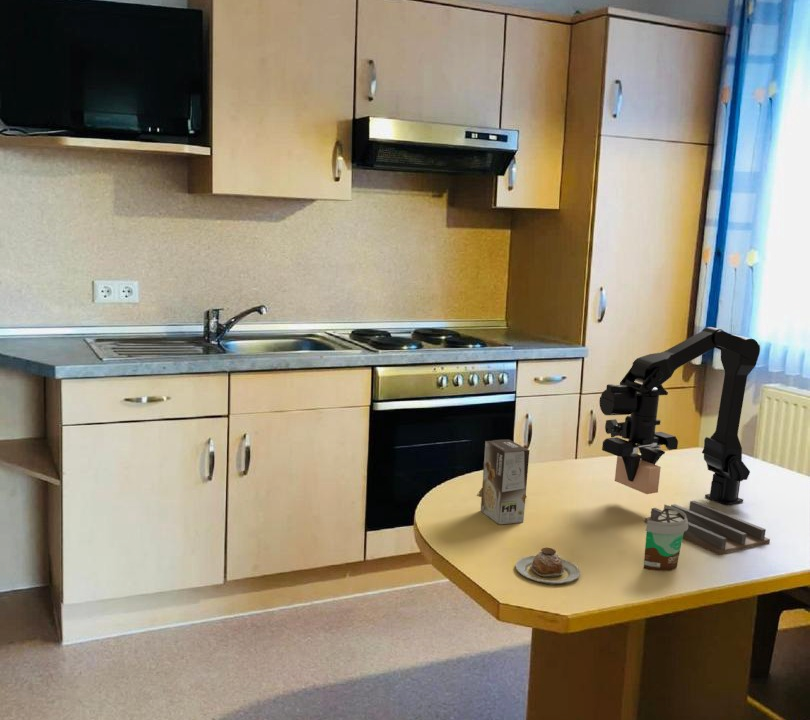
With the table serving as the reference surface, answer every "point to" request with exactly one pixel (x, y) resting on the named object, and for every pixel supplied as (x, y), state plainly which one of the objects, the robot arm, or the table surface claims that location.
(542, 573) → the pastry
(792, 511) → the table surface
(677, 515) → the food container
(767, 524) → the table surface
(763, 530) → the ribbed brown panel
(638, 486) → the terracotta strip
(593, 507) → the table surface
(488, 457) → the coffee box
